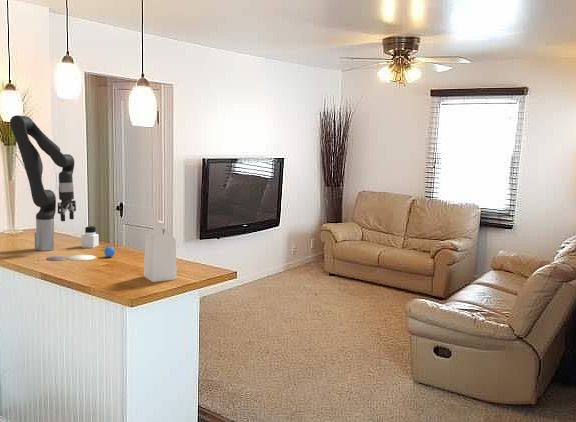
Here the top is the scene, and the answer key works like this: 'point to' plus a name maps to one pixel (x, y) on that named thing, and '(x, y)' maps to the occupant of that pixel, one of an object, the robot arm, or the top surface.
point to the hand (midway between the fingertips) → (67, 220)
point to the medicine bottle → (90, 238)
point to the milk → (160, 255)
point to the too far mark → (56, 258)
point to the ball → (109, 251)
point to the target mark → (81, 257)
